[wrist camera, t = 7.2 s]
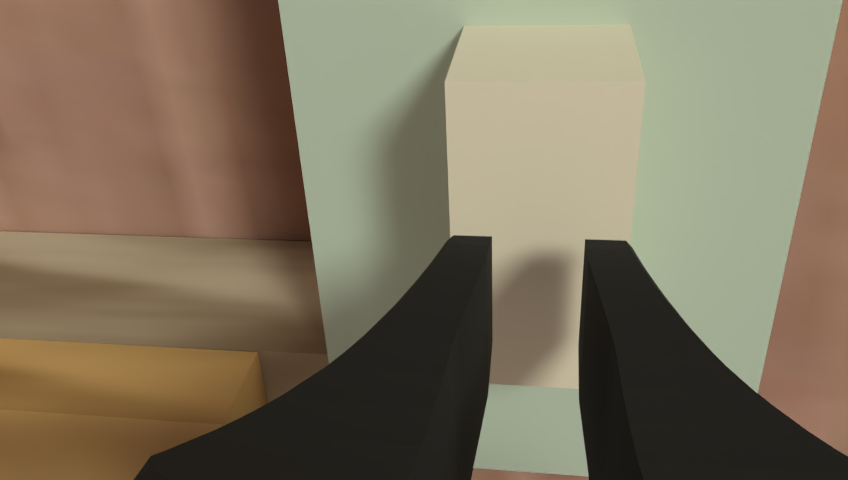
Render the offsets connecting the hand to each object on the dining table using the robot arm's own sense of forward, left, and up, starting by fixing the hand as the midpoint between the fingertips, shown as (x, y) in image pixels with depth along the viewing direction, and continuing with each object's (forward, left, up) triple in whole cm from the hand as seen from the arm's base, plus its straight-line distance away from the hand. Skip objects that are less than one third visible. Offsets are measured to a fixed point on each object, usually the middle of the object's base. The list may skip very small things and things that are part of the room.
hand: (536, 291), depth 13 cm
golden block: (-14, 0, -4) cm, 14 cm away
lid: (0, 0, -6) cm, 6 cm away
